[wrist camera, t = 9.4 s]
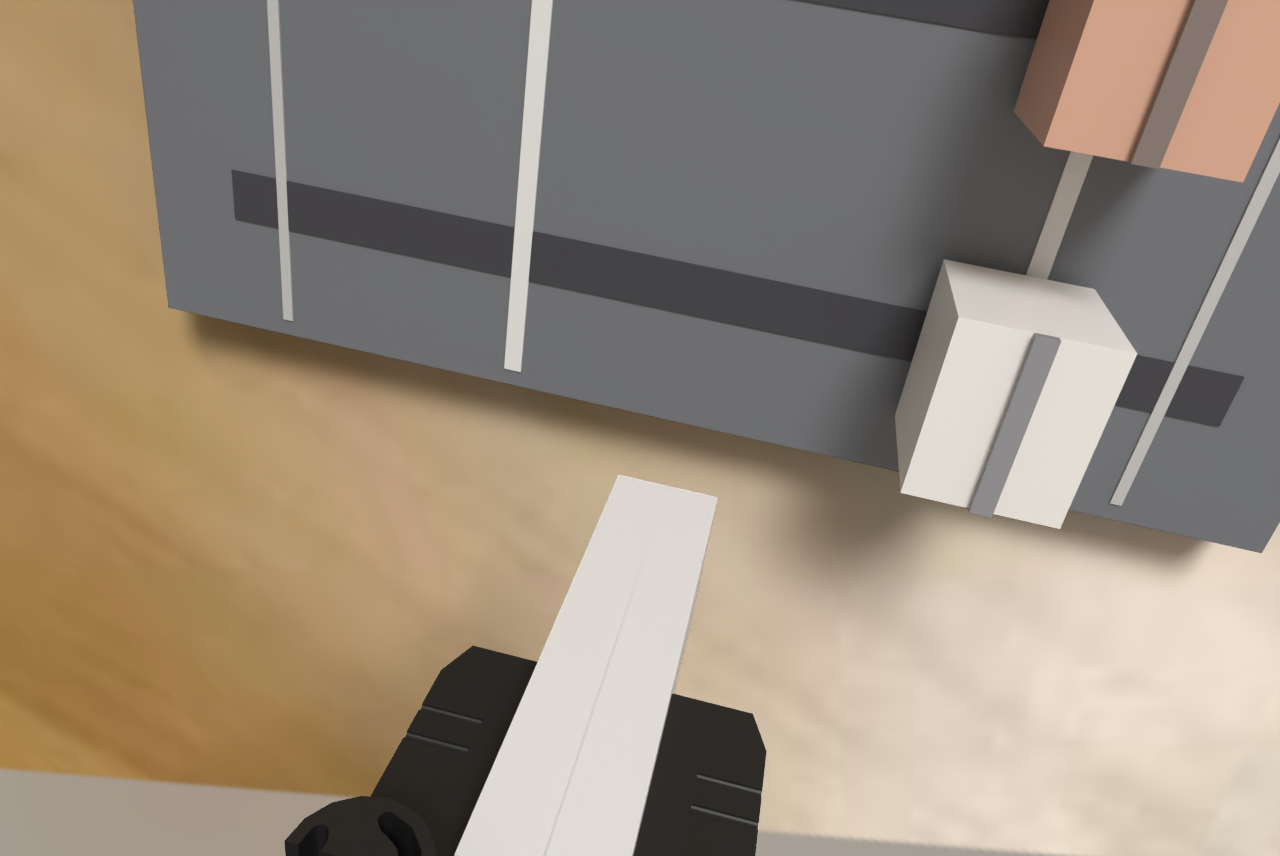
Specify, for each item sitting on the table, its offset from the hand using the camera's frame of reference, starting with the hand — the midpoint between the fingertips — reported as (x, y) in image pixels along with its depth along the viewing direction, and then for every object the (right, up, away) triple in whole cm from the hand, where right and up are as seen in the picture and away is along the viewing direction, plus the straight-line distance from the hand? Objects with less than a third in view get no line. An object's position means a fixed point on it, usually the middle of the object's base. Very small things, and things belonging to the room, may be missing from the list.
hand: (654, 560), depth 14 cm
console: (+2, +10, +10) cm, 15 cm away
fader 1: (+9, +4, +9) cm, 13 cm away
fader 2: (+10, +11, +6) cm, 16 cm away
